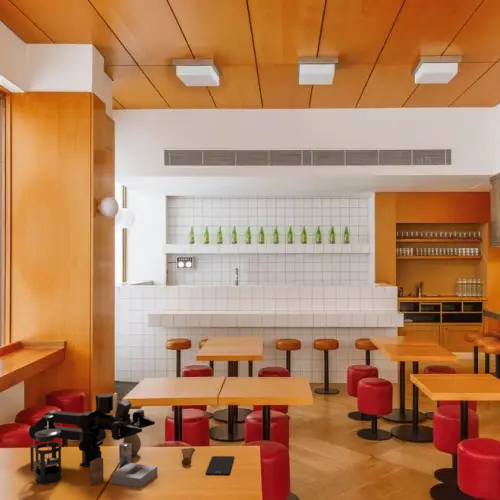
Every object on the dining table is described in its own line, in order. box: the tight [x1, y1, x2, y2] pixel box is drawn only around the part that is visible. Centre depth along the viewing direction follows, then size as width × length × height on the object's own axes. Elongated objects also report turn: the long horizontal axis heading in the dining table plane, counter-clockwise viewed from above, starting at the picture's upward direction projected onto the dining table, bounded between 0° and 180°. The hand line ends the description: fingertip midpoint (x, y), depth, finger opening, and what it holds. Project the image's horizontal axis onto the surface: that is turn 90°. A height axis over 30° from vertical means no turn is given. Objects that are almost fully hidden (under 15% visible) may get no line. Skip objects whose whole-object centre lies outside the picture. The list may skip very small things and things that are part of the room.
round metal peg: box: [118, 442, 133, 469], centre depth 221 cm, size 4×4×8 cm
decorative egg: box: [122, 433, 142, 456], centre depth 233 cm, size 7×7×10 cm
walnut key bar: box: [89, 457, 104, 487], centre depth 205 cm, size 2×5×8 cm, turn 160°
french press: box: [29, 414, 63, 485], centre depth 209 cm, size 12×9×23 cm
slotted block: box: [110, 463, 158, 488], centre depth 208 cm, size 12×12×3 cm
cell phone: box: [205, 455, 235, 476], centre depth 219 cm, size 9×18×1 cm, turn 176°
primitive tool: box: [180, 447, 196, 467], centre depth 229 cm, size 19×6×4 cm, turn 7°
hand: (148, 426), depth 215 cm, fingers open, 9 cm apart
